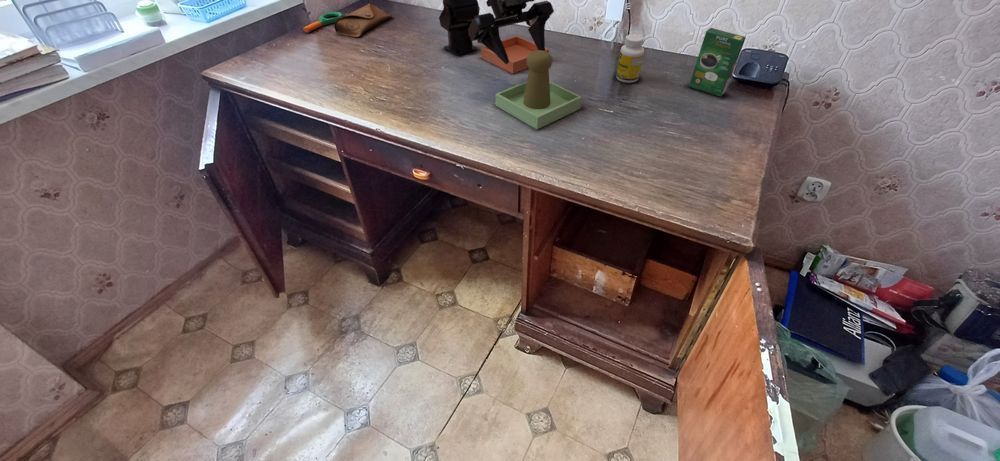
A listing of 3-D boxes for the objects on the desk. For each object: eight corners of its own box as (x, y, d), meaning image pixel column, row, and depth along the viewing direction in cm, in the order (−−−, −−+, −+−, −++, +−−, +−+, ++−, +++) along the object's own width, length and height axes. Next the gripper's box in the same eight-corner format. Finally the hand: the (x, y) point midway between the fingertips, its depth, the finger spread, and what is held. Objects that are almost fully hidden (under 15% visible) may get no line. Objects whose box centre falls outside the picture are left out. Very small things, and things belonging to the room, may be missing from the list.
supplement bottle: (611, 75, 114) (618, 34, 107) (631, 72, 115) (639, 31, 108) (622, 85, 110) (630, 43, 103) (642, 81, 111) (651, 40, 104)
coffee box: (726, 93, 107) (747, 35, 98) (722, 98, 105) (742, 39, 96) (692, 83, 110) (709, 26, 101) (687, 87, 109) (704, 30, 100)
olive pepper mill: (522, 96, 104) (523, 47, 97) (548, 95, 104) (552, 46, 97) (524, 109, 100) (526, 59, 92) (552, 108, 100) (556, 58, 92)
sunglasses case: (360, 36, 130) (345, 13, 127) (345, 46, 134) (330, 24, 131) (394, 15, 142) (381, -6, 139) (379, 25, 147) (366, 4, 144)
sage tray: (495, 105, 103) (495, 93, 101) (538, 87, 109) (539, 76, 107) (537, 129, 95) (537, 117, 94) (580, 108, 102) (582, 96, 100)
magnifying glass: (330, 14, 144) (329, 9, 143) (347, 17, 143) (345, 11, 142) (298, 32, 134) (296, 25, 133) (315, 34, 133) (314, 28, 131)
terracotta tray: (481, 58, 121) (481, 47, 119) (516, 45, 127) (516, 35, 125) (512, 73, 114) (513, 62, 112) (548, 60, 120) (549, 49, 118)
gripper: (472, -28, 88) (502, 50, 89) (552, -42, 95) (580, 31, 96) (455, 4, 98) (483, 74, 99) (529, -11, 105) (554, 55, 106)
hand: (525, 58), depth 100 cm, fingers open, 9 cm apart
